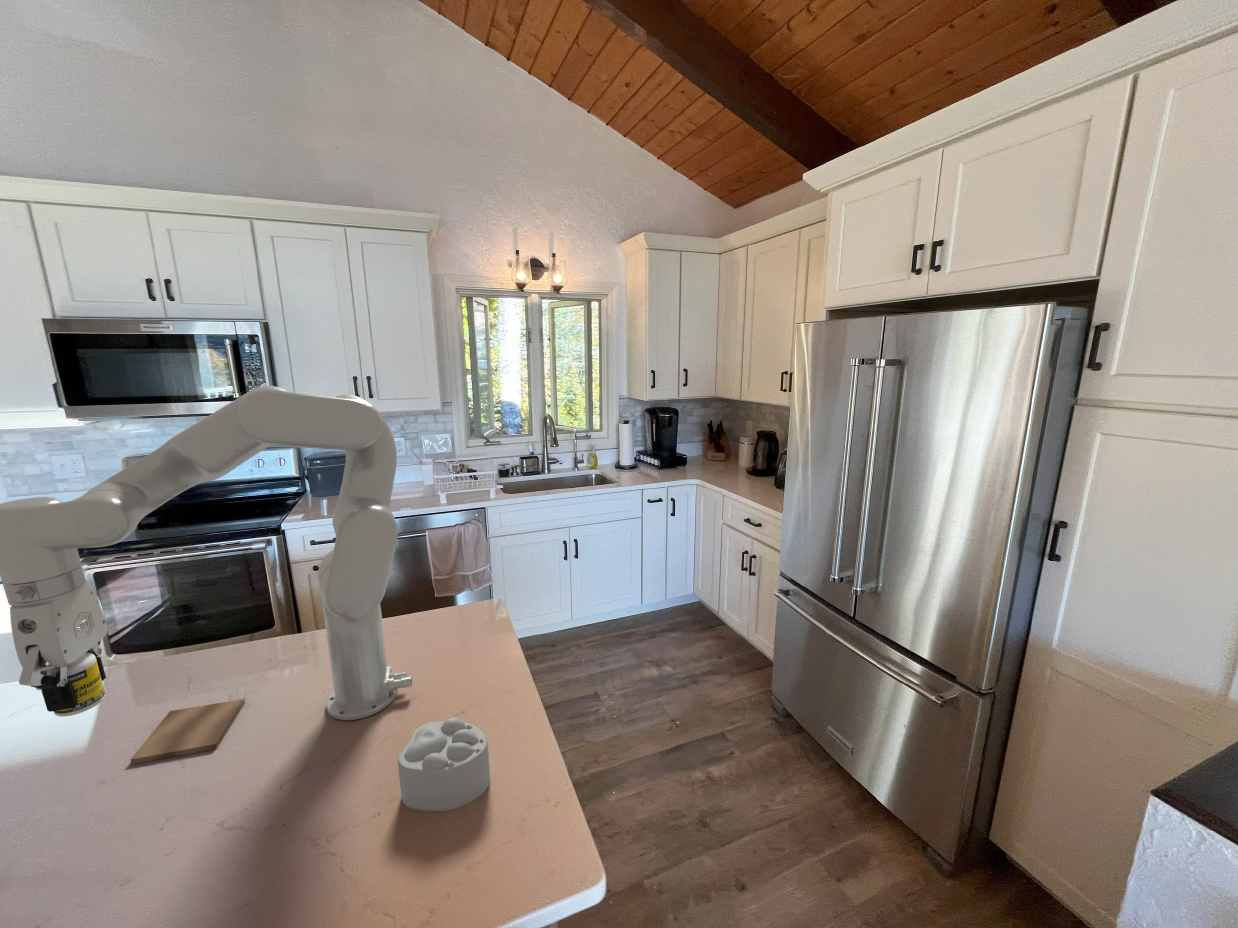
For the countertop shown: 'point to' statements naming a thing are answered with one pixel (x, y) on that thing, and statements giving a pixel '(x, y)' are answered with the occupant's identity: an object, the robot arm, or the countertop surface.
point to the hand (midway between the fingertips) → (78, 693)
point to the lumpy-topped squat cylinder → (444, 766)
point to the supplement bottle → (83, 684)
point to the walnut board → (189, 731)
